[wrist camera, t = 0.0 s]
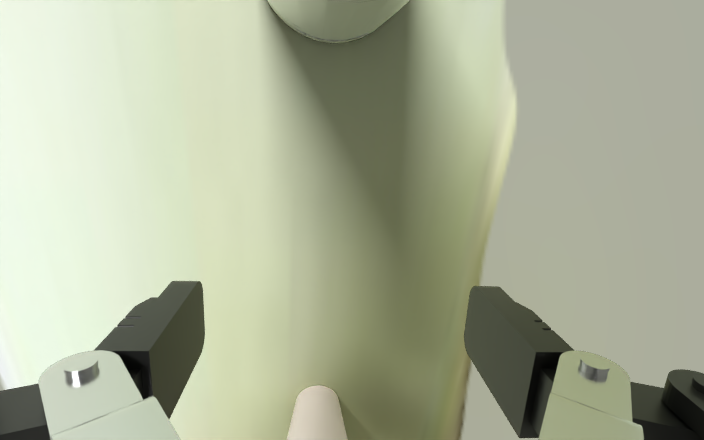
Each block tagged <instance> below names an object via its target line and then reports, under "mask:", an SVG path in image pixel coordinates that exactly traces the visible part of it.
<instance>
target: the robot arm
mask: <svg viewBox="0 0 704 440" xmlns="http://www.w3.org/2000/svg"><path fill="white" fill-rule="evenodd" d="M267 1H268V2H269V4H270V5H271V7H272V9H273V10H274V12H275V13H276V14H277V15H278V16H279V17H280V18H281V19H282V20H283V21H284V22H285V23H286V24H287V25H288V26H289V27H291V28H292V29H294V30H295V31H296V32H298V33H299V34H301V35H303V36H306V37H308V38H311V39H313V40H316V41H321V42H326V43H346V42H349V41H353V40H356V39H360V38H362V37H364V36H366V35H368V34H369V33H371V32H373V31H375V30H376V29H377V28H378V27H379V26H381V25H382V24H383V23H384V22H385V21H387V20H388V19H389V18H390V17H392V16H393V15H394V14H395V13H396V12H397V11H399V10H400V9H401V8H402V7H403V6H404V5H405V4H407V3H408V2H409V1H410V0H267ZM204 337H205V326H204V305H203V288H202V284H201V282H200V281H172V282H171V283H170V284H169V285H168V287H167V288H166V289H165V290H164V291H163V292H162V294H161V295H160V296H159V297H158V298H150V299H148V300H146V301H144V302H142V303H140V304H138V305H137V306H135V307H134V308H133V309H132V310H131V311H130V312H129V313H128V315H127V316H126V318H125V319H123V320H122V321H121V322H120V323H119V324H118V327H115V328H114V329H113V331H112V332H111V333H110V334H109V335H108V336H107V337H106V338H105V339H104V340H103V341H102V342H101V343H100V344H99V345H98V347H97V348H96V349H95V350H94V351H88V352H82V353H78V354H75V355H72V356H69V357H66V358H64V359H62V360H60V361H58V362H56V363H54V364H53V365H51V366H50V367H49V368H47V369H46V370H45V371H44V372H43V373H42V375H41V376H40V378H39V384H34V385H30V386H24V387H19V388H14V389H8V390H3V391H0V440H181V439H180V438H179V436H178V434H177V432H176V431H175V429H174V427H173V426H172V424H171V422H170V421H169V419H170V417H171V415H172V413H173V410H174V408H175V406H176V404H177V402H178V400H179V398H180V396H181V394H182V392H183V390H184V388H185V386H186V384H187V381H188V379H189V377H190V375H191V373H192V371H193V369H194V367H195V365H196V363H197V361H198V359H199V357H200V355H201V352H202V349H203V345H204ZM464 342H465V348H466V351H467V354H468V355H469V357H470V359H471V360H472V362H473V364H474V365H475V367H476V368H477V370H478V372H479V373H480V375H481V377H482V378H483V380H484V381H485V383H486V385H487V386H488V388H489V390H490V391H491V393H492V394H493V396H494V397H495V399H496V401H497V403H498V404H499V406H500V407H501V409H502V411H503V412H504V414H505V416H506V417H507V419H508V420H509V422H510V424H511V425H512V427H513V429H514V430H515V432H516V433H517V435H518V437H519V438H539V440H704V374H703V373H699V372H696V371H690V370H673V371H671V372H669V374H668V377H667V380H666V383H665V387H664V388H660V387H655V386H649V385H644V384H639V383H634V382H630V378H629V375H628V374H627V372H625V370H624V369H623V368H621V367H620V366H619V365H617V364H616V363H614V362H612V361H611V360H608V359H607V358H604V357H602V356H599V355H596V354H593V353H589V352H584V351H574V350H573V349H572V348H571V347H570V346H569V345H568V344H567V343H566V342H565V341H564V340H563V339H562V338H561V337H560V336H558V335H557V334H556V333H555V332H554V331H553V330H551V328H550V327H549V326H548V325H547V324H546V323H544V322H542V320H541V319H540V318H539V317H538V316H537V315H536V314H535V313H534V312H533V311H532V310H530V309H528V308H526V307H524V306H522V305H520V304H519V303H516V302H514V301H513V300H512V299H511V298H510V297H509V296H508V295H507V294H506V293H505V292H504V291H503V290H502V289H501V288H500V287H491V286H474V287H473V288H472V289H471V292H470V296H469V303H468V310H467V318H466V325H465V332H464Z"/></svg>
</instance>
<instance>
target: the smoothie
mask: <svg viewBox="0 0 704 440" xmlns="http://www.w3.org/2000/svg"><path fill="white" fill-rule="evenodd" d="M287 440H348V439H347V435H346V430H345V426H344V422H343V417H342V413H341V408H340V404H339V399H338V396H337V394H336V393H335V392H334V391H333V390H332V389H330V388H328V387H326V386H321V385H315V386H310V387H308V388H306V389H304V390H302V391H301V392H300V393H299V395H298V396H297V398H296V402H295V406H294V411H293V415H292V419H291V423H290V428H289V432H288V436H287Z"/></svg>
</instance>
